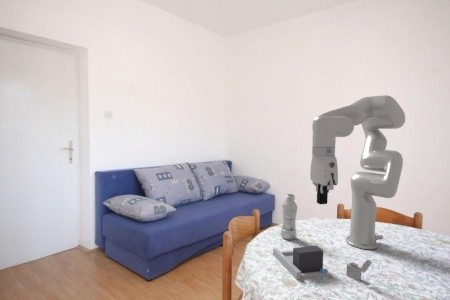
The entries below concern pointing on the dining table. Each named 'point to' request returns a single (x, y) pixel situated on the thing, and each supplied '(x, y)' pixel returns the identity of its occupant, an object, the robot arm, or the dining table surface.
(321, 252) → the dark gray block
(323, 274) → the grey tray
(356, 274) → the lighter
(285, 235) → the plastic bottle
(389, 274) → the dining table surface
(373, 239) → the robot arm
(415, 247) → the dining table surface
